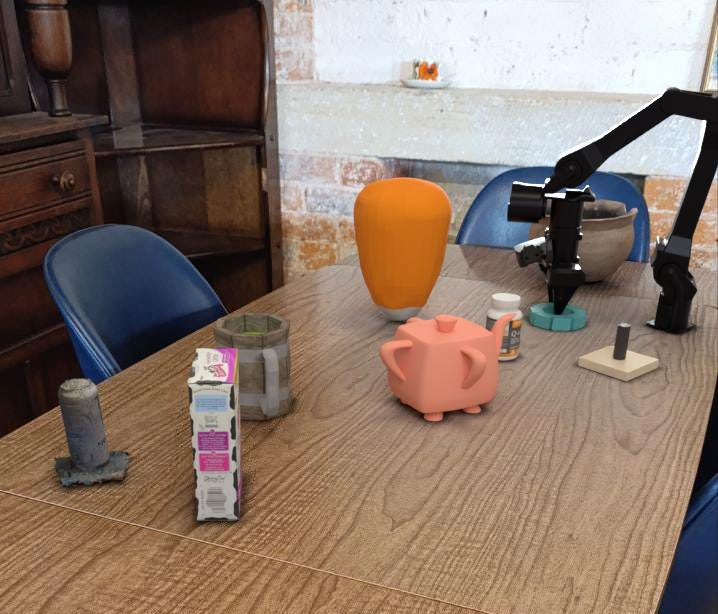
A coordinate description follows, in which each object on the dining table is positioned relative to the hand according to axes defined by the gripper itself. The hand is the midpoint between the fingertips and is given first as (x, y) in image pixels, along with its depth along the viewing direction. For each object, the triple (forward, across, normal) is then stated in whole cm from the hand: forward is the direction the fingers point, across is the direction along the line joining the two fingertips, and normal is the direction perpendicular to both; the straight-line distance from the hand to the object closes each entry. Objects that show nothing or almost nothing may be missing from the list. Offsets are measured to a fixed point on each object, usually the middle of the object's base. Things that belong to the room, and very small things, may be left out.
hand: (554, 310), depth 164 cm
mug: (+1, +49, -48) cm, 69 cm away
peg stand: (+1, +26, +6) cm, 27 cm away
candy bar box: (+1, +74, -49) cm, 88 cm away
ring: (+1, +4, 0) cm, 4 cm away
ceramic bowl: (+1, -27, +8) cm, 29 cm away
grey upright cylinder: (+1, +69, -65) cm, 95 cm away
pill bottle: (+1, +23, -12) cm, 26 cm away
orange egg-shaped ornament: (+1, +6, -29) cm, 30 cm away
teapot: (+1, +44, -22) cm, 49 cm away
